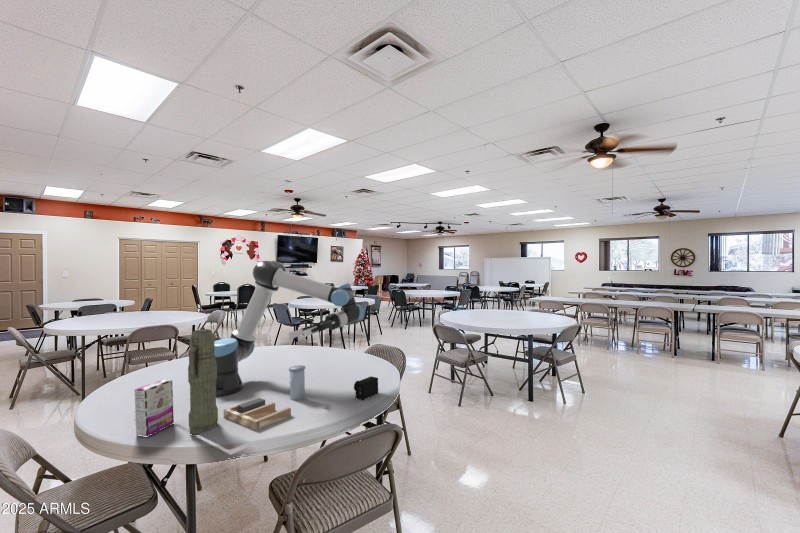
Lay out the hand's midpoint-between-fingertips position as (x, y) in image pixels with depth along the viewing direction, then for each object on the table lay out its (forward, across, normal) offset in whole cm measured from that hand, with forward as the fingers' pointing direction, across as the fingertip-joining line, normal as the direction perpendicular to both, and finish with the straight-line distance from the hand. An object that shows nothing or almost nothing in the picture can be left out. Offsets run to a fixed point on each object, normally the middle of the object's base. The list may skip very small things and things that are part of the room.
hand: (296, 335), depth 157 cm
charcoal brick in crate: (+28, -2, -22) cm, 35 cm away
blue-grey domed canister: (+8, 0, -26) cm, 27 cm away
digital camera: (-15, -16, -34) cm, 41 cm away
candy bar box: (+56, +10, -15) cm, 59 cm away
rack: (+28, -7, -24) cm, 37 cm away
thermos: (+44, -2, -20) cm, 48 cm away
